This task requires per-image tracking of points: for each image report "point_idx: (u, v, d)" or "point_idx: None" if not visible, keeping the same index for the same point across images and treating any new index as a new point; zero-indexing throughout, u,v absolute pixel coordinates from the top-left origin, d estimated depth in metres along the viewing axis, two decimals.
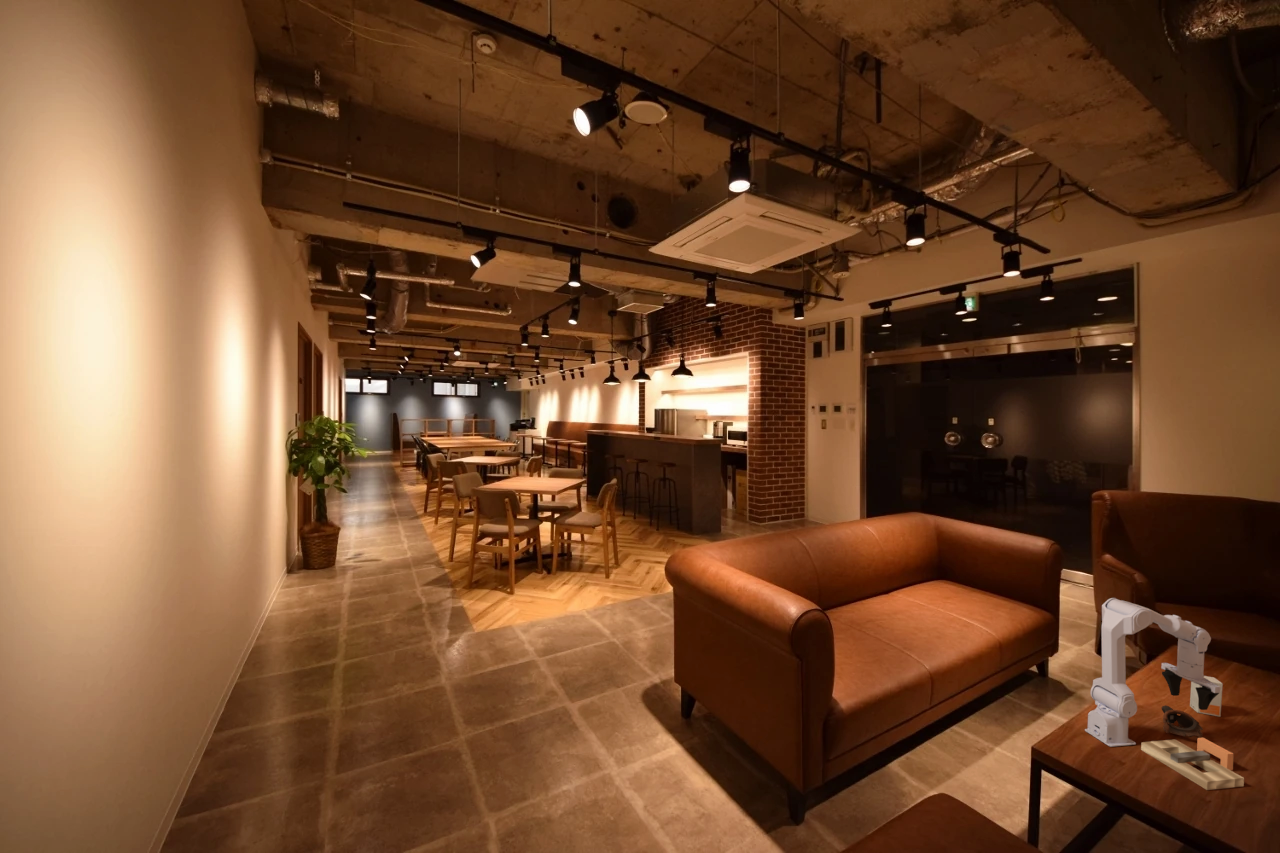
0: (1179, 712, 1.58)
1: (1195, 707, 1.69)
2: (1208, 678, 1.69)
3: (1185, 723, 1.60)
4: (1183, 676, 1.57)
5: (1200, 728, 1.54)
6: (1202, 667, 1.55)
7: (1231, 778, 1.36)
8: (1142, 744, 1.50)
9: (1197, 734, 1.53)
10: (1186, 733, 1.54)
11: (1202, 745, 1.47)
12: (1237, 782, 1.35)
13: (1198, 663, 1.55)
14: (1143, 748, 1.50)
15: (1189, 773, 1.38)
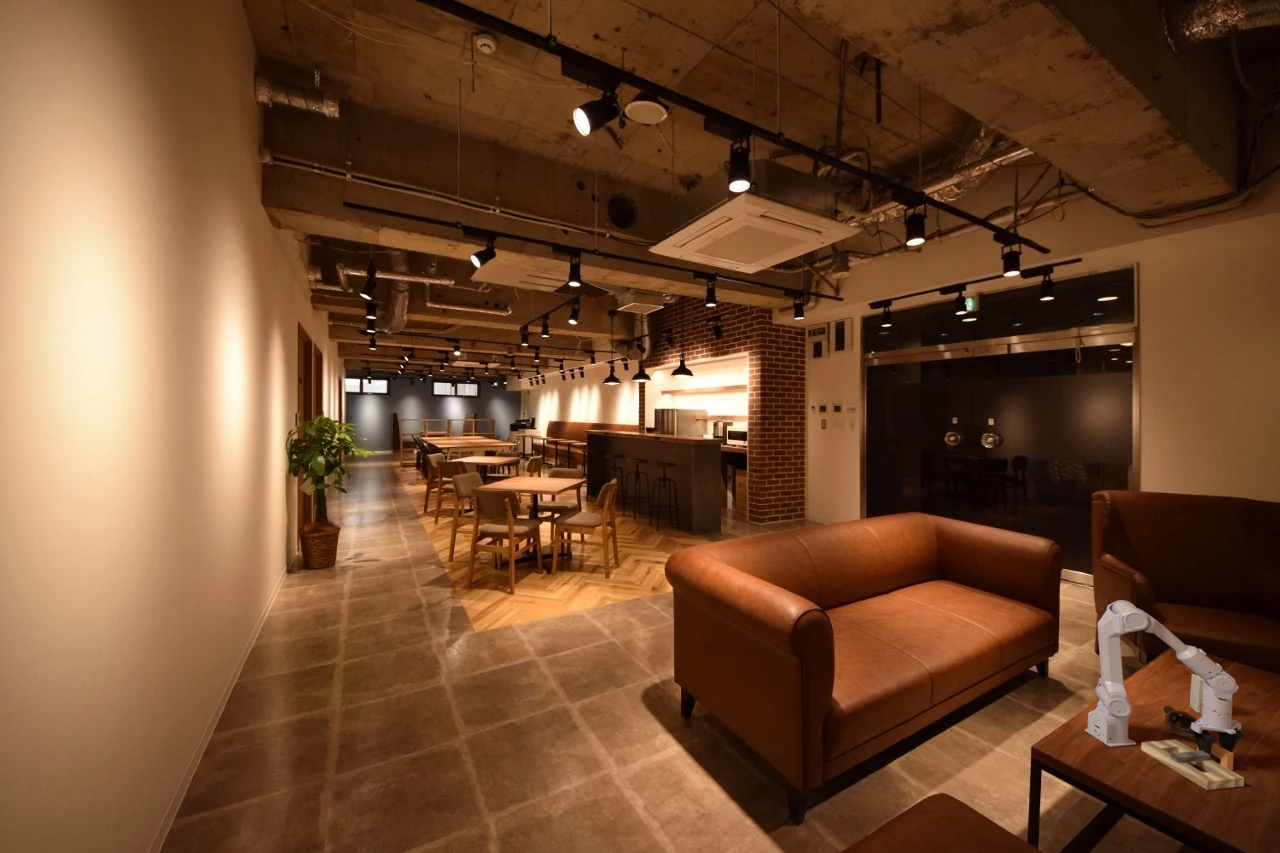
0: (1181, 712, 1.58)
1: (1195, 707, 1.69)
2: None
3: (1187, 723, 1.59)
4: None
5: None
6: (1211, 712, 1.44)
7: (1231, 778, 1.36)
8: (1142, 744, 1.50)
9: None
10: (1188, 733, 1.54)
11: None
12: (1237, 782, 1.35)
13: (1217, 710, 1.43)
14: (1143, 748, 1.50)
15: (1189, 773, 1.38)
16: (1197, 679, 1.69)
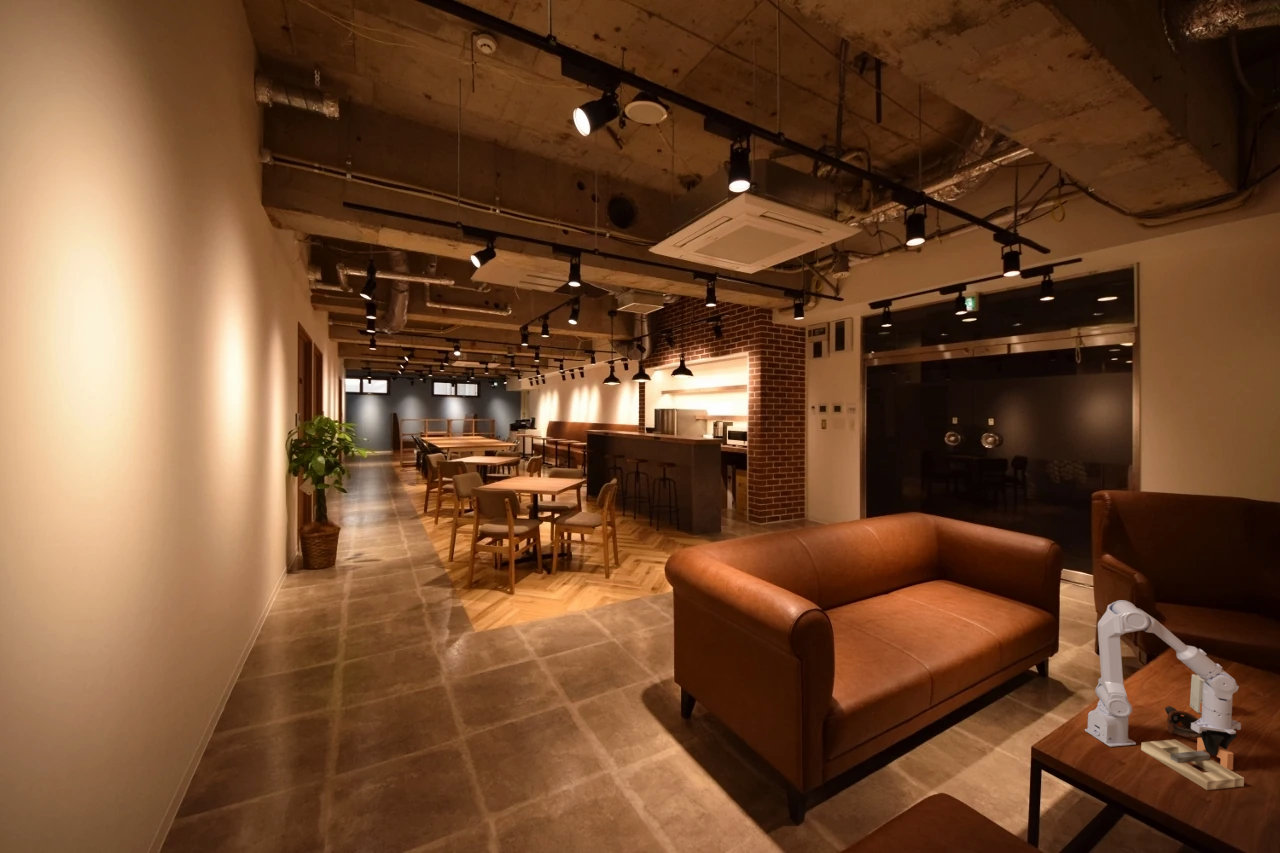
0: (1183, 713, 1.58)
1: (1195, 707, 1.69)
2: None
3: (1189, 724, 1.59)
4: None
5: None
6: (1211, 712, 1.44)
7: (1231, 778, 1.36)
8: (1142, 744, 1.50)
9: None
10: (1190, 734, 1.53)
11: (1202, 745, 1.47)
12: (1237, 782, 1.35)
13: (1217, 710, 1.43)
14: (1143, 748, 1.50)
15: (1189, 773, 1.38)
16: (1197, 679, 1.69)
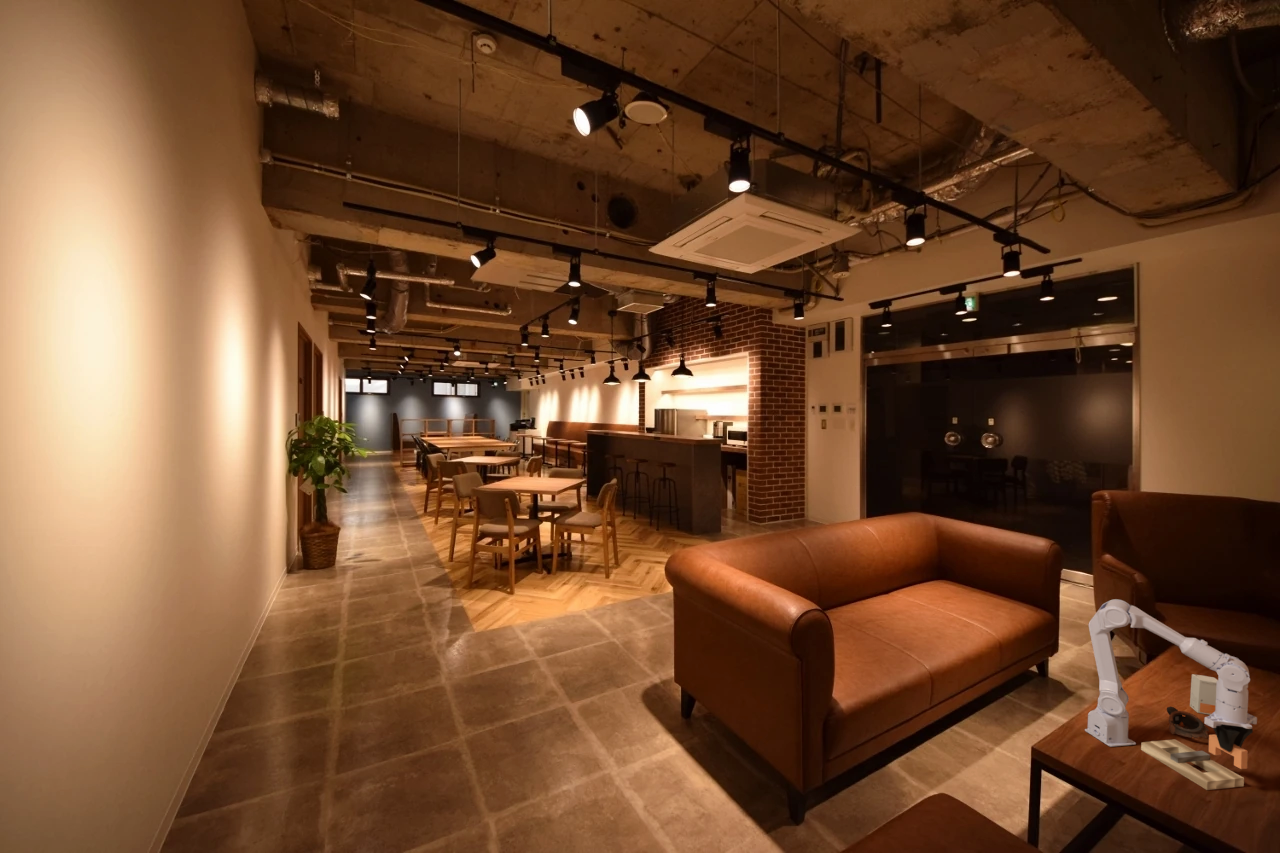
0: (1185, 713, 1.58)
1: (1195, 707, 1.69)
2: (1208, 678, 1.69)
3: (1190, 724, 1.59)
4: None
5: (1206, 729, 1.53)
6: (1226, 706, 1.36)
7: (1231, 778, 1.36)
8: (1142, 744, 1.50)
9: (1203, 735, 1.52)
10: (1192, 734, 1.53)
11: (1214, 742, 1.40)
12: (1237, 782, 1.35)
13: (1226, 701, 1.36)
14: (1143, 748, 1.50)
15: (1189, 773, 1.38)
16: (1197, 679, 1.69)
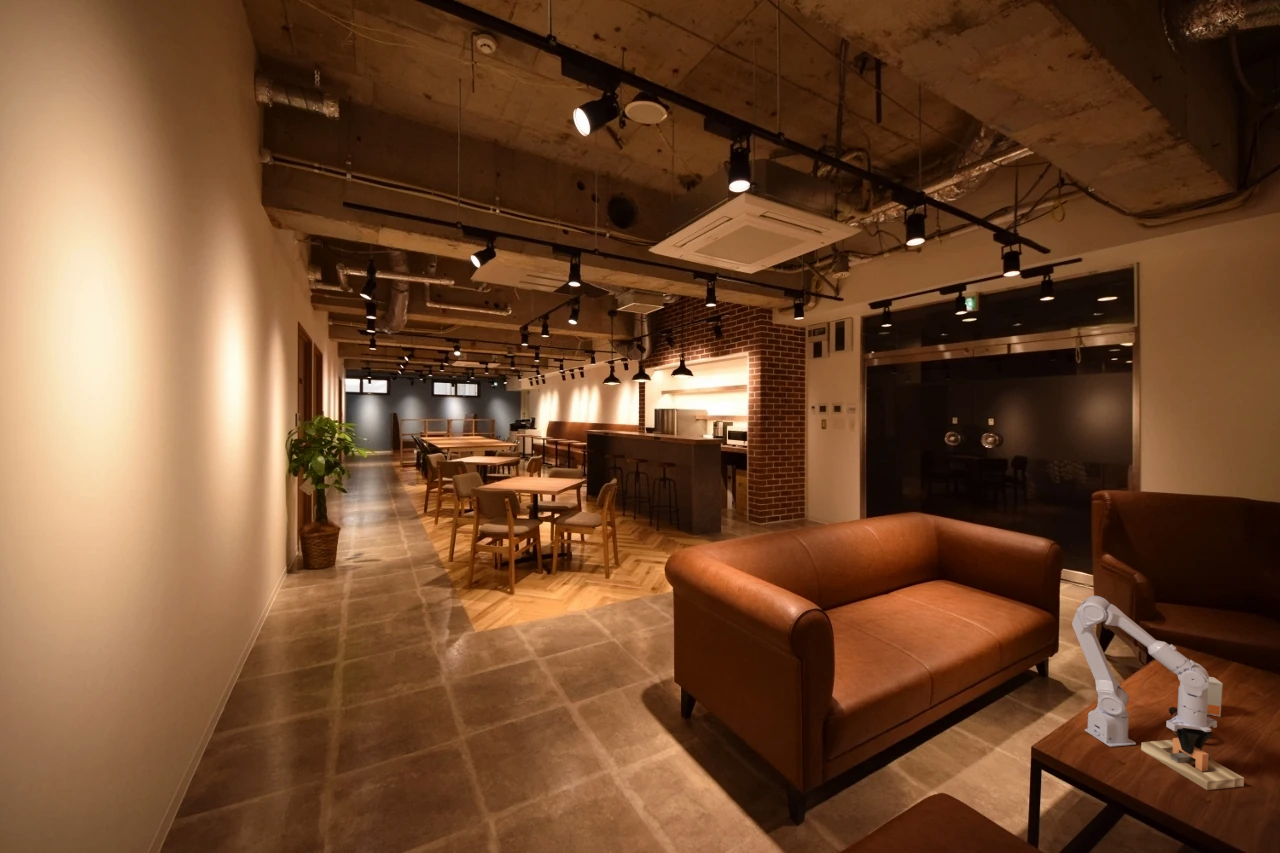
0: None
1: None
2: None
3: None
4: None
5: None
6: (1187, 710, 1.41)
7: (1231, 778, 1.36)
8: (1142, 744, 1.50)
9: None
10: None
11: (1178, 745, 1.45)
12: (1237, 782, 1.35)
13: (1187, 706, 1.41)
14: (1143, 748, 1.50)
15: (1189, 773, 1.38)
16: None
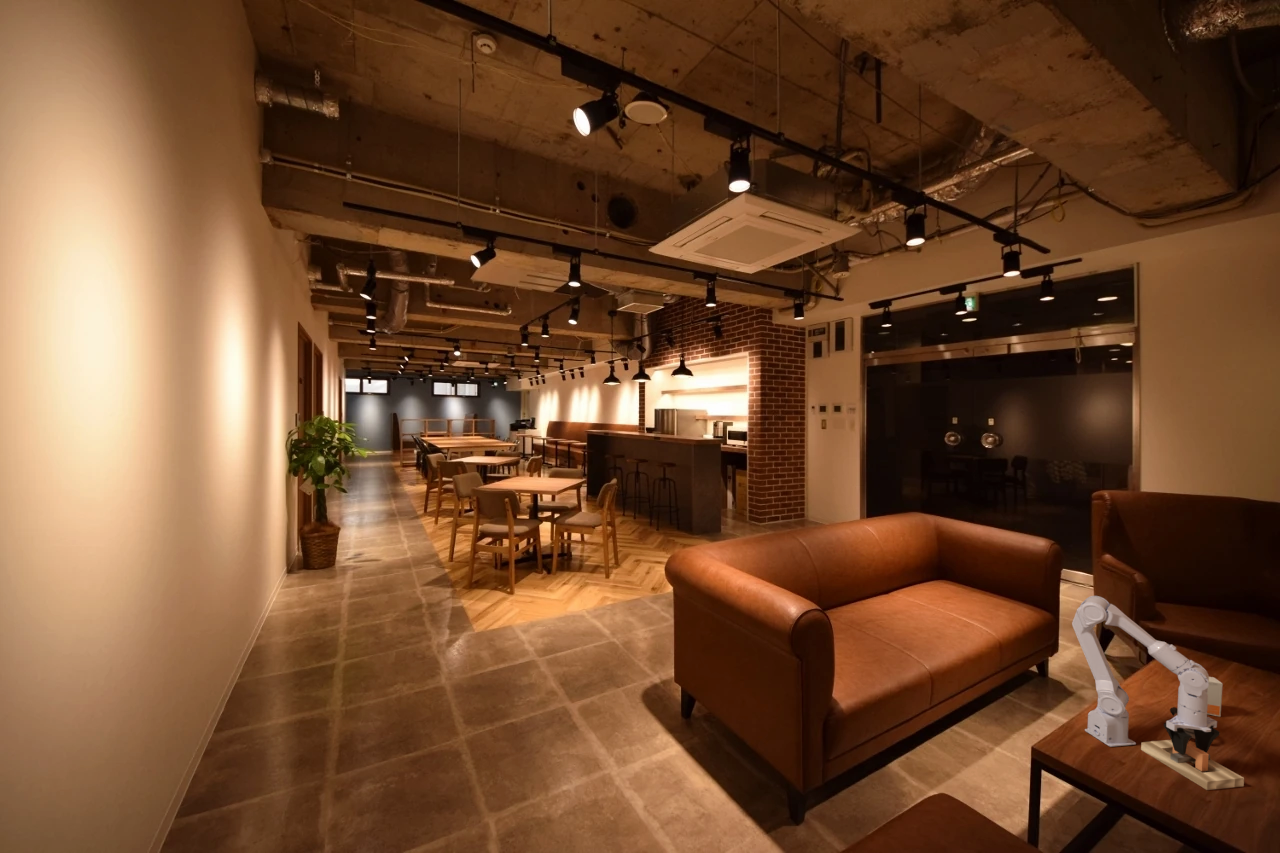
0: None
1: None
2: None
3: None
4: None
5: None
6: (1186, 710, 1.41)
7: (1231, 778, 1.36)
8: (1142, 744, 1.50)
9: None
10: None
11: None
12: (1237, 782, 1.35)
13: (1187, 706, 1.41)
14: (1143, 748, 1.50)
15: (1189, 773, 1.38)
16: None
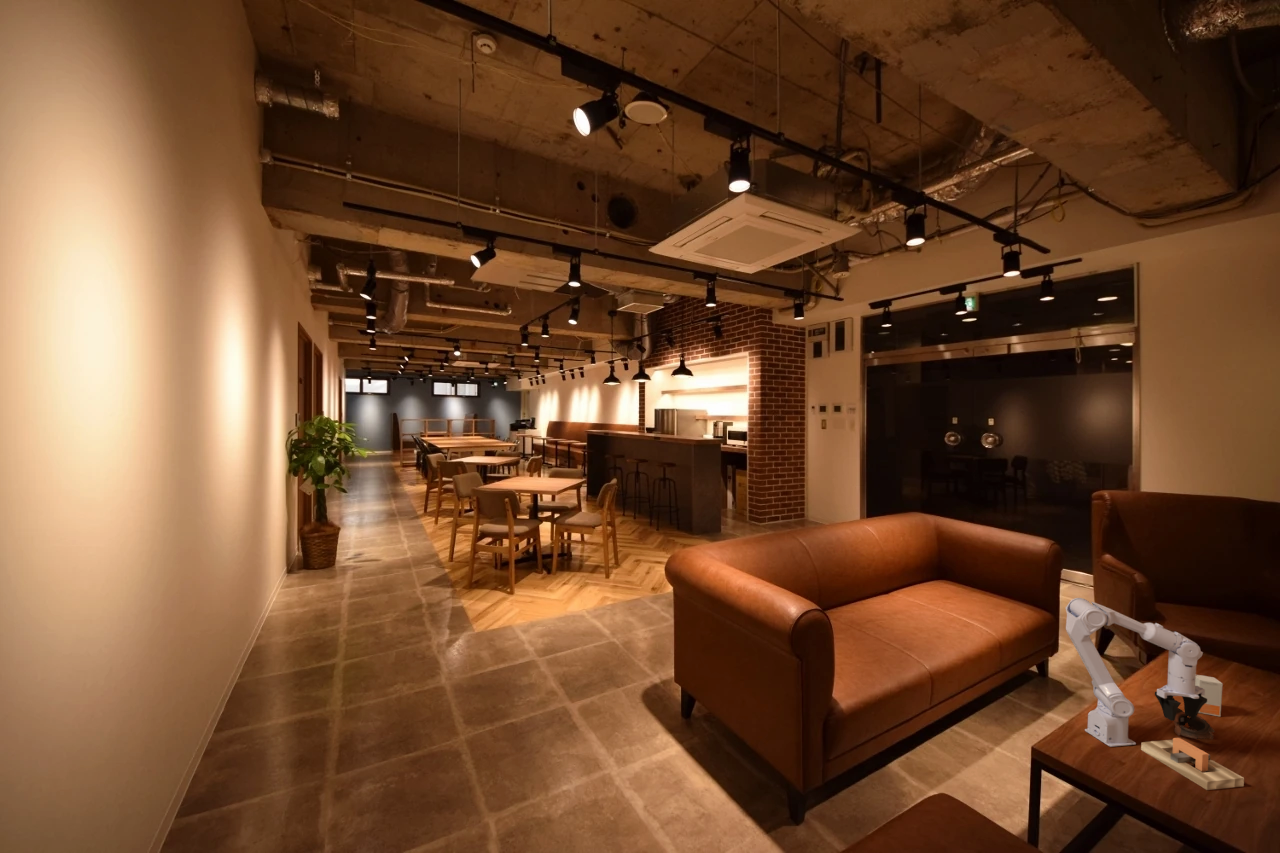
0: None
1: None
2: (1208, 678, 1.69)
3: (1195, 725, 1.59)
4: None
5: (1212, 730, 1.52)
6: (1176, 678, 1.49)
7: (1231, 778, 1.36)
8: (1142, 744, 1.50)
9: (1209, 736, 1.52)
10: (1198, 736, 1.53)
11: (1178, 745, 1.45)
12: (1237, 782, 1.35)
13: (1184, 676, 1.48)
14: (1143, 748, 1.50)
15: (1189, 773, 1.38)
16: (1197, 679, 1.69)
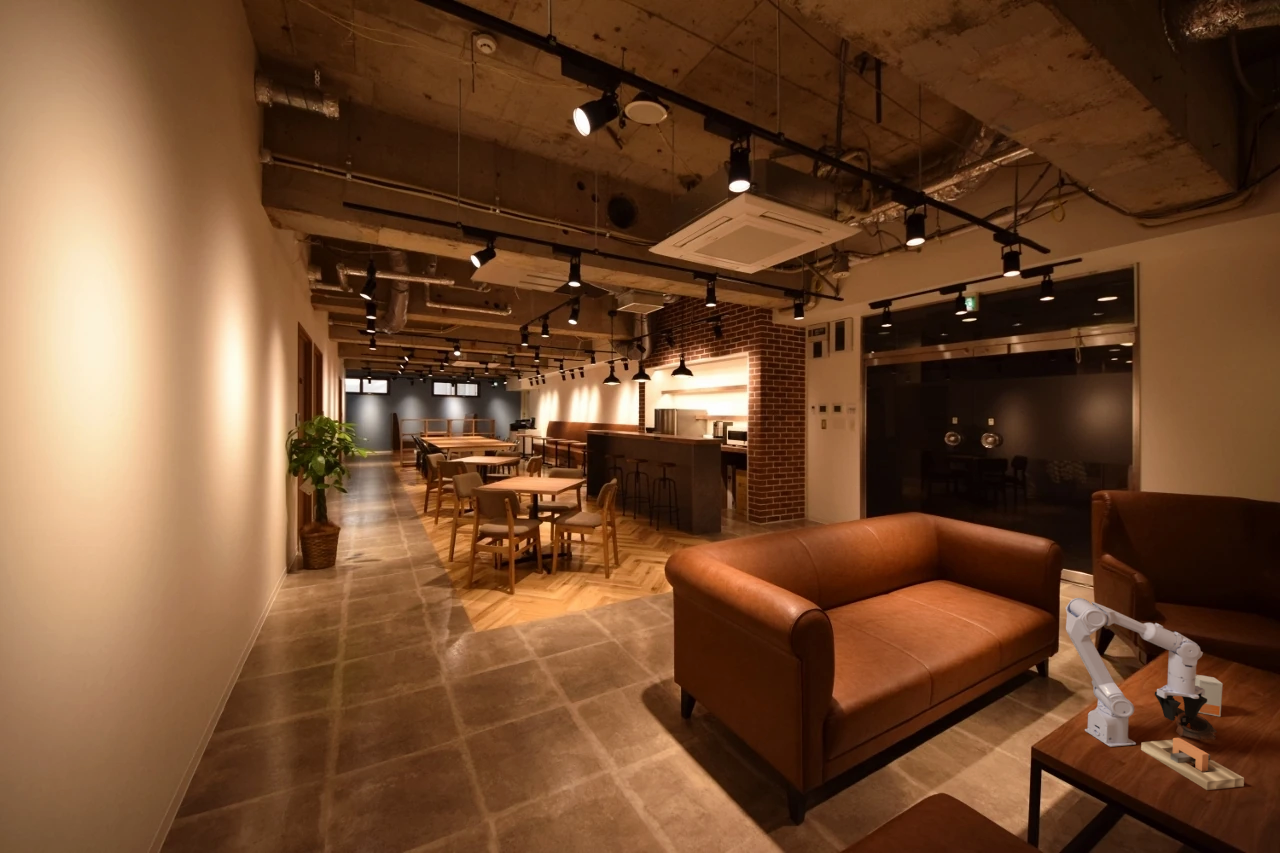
0: None
1: None
2: (1208, 678, 1.69)
3: (1197, 725, 1.58)
4: None
5: (1214, 731, 1.52)
6: (1176, 678, 1.49)
7: (1231, 778, 1.36)
8: (1142, 744, 1.50)
9: (1212, 737, 1.51)
10: (1201, 736, 1.52)
11: (1178, 745, 1.45)
12: (1237, 782, 1.35)
13: (1184, 676, 1.48)
14: (1143, 748, 1.50)
15: (1189, 773, 1.38)
16: (1197, 679, 1.69)
